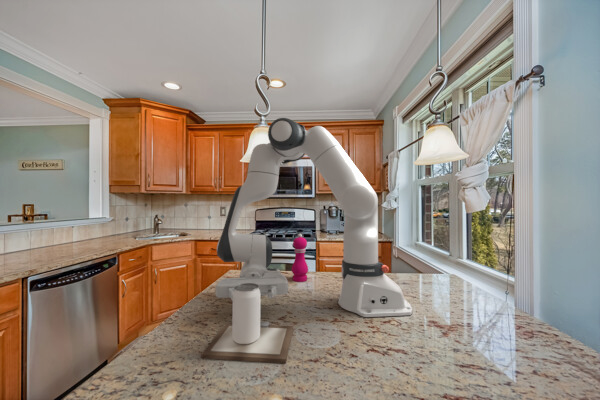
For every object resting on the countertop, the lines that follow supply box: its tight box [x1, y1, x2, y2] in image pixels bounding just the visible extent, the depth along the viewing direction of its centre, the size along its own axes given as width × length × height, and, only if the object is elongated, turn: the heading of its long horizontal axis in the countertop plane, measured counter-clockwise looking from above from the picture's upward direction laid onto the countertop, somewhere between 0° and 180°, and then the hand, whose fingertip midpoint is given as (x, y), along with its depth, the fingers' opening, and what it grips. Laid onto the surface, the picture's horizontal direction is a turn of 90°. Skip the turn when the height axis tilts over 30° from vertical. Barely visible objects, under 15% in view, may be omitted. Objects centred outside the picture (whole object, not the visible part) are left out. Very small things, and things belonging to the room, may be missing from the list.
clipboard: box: [200, 321, 294, 364], centre depth 59 cm, size 18×14×2 cm
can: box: [231, 283, 262, 345], centre depth 59 cm, size 6×6×12 cm
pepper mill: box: [291, 233, 309, 283], centre depth 108 cm, size 7×7×20 cm
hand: (252, 296), depth 65 cm, fingers open, 8 cm apart
